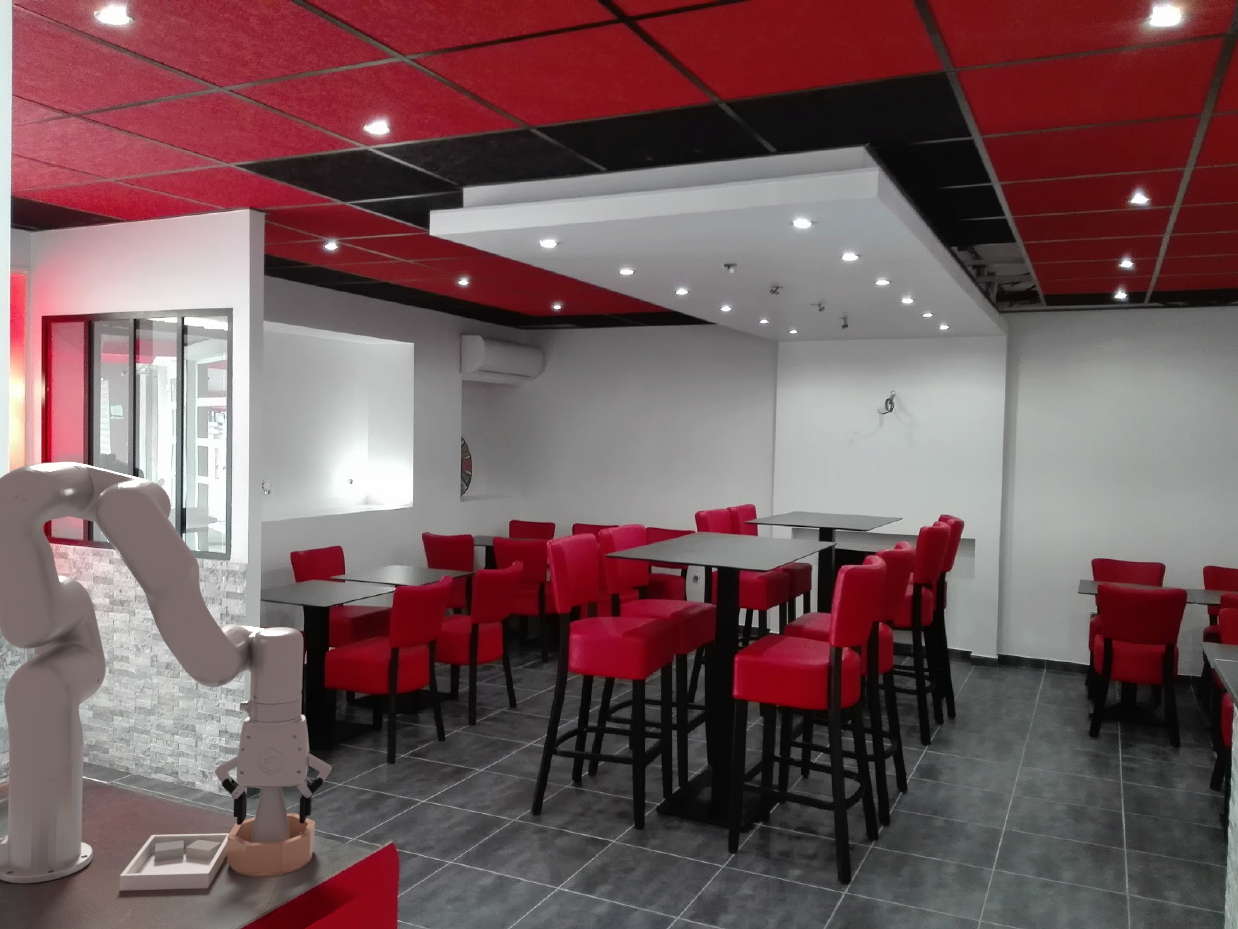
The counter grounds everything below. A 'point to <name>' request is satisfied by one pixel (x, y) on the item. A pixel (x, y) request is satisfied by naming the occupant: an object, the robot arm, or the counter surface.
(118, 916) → the counter surface
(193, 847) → the beige rectangular block
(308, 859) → the bowl
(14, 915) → the counter surface
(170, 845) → the grey rectangular block
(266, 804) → the salt shaker
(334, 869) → the counter surface
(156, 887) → the tray
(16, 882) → the robot arm
